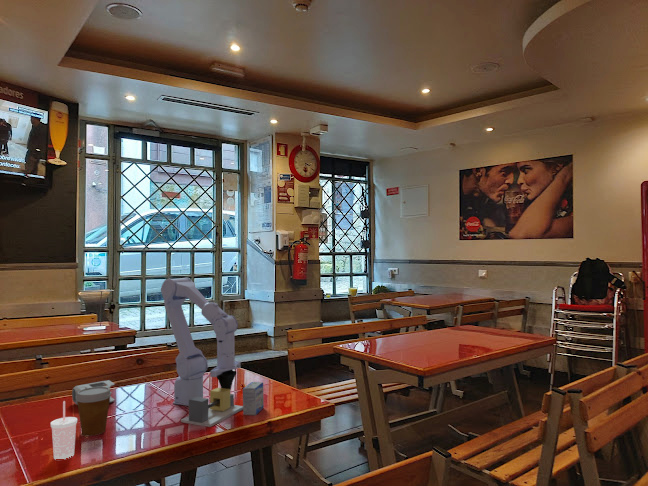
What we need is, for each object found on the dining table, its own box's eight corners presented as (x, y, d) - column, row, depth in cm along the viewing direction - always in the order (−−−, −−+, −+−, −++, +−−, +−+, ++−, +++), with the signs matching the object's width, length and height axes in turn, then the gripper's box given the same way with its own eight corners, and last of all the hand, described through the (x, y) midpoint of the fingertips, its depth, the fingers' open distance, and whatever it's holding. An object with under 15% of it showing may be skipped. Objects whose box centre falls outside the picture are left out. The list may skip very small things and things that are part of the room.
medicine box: (255, 415, 150) (255, 388, 150) (242, 415, 151) (242, 387, 151) (263, 408, 158) (263, 382, 158) (251, 407, 159) (251, 381, 159)
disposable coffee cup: (87, 440, 131) (87, 397, 132) (68, 434, 136) (68, 392, 137) (118, 429, 139) (118, 388, 140) (99, 423, 144) (99, 384, 145)
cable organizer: (79, 392, 156) (117, 385, 164) (70, 384, 166) (106, 378, 174) (79, 412, 156) (117, 404, 164) (70, 403, 166) (106, 396, 173)
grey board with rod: (181, 422, 145) (181, 398, 145) (216, 404, 162) (216, 383, 162) (210, 427, 141) (210, 402, 141) (243, 408, 157) (243, 387, 157)
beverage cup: (44, 459, 120) (44, 403, 120) (65, 449, 125) (65, 396, 126) (62, 462, 117) (62, 406, 118) (82, 453, 123) (82, 399, 123)
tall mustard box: (210, 409, 154) (210, 390, 154) (217, 405, 157) (217, 387, 157) (223, 411, 152) (222, 392, 152) (230, 407, 155) (230, 389, 155)
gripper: (223, 358, 150) (223, 401, 149) (247, 349, 163) (248, 389, 163) (204, 356, 152) (205, 398, 152) (230, 348, 166) (230, 387, 165)
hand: (226, 393), depth 158 cm, fingers closed
